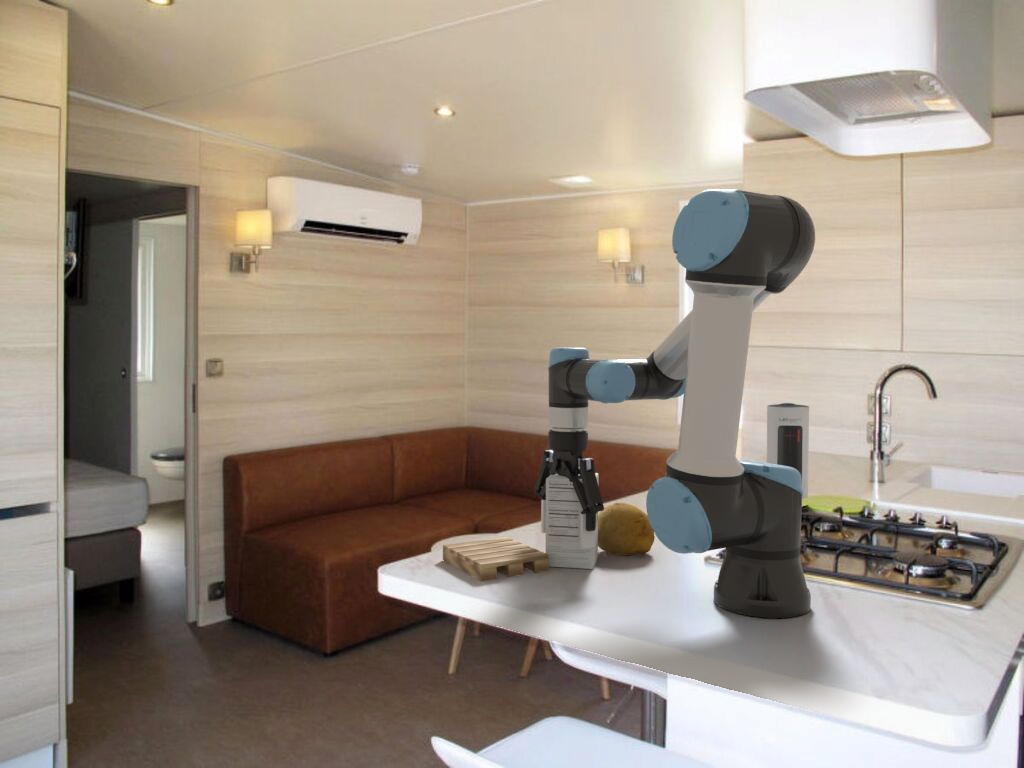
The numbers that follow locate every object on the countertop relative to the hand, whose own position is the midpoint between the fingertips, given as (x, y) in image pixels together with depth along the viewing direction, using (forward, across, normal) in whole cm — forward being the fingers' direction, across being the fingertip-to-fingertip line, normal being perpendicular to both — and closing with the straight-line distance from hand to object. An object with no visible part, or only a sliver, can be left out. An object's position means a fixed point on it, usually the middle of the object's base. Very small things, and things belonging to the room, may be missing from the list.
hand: (566, 539), depth 163 cm
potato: (+5, +1, -14) cm, 15 cm away
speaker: (+5, +20, -81) cm, 84 cm away
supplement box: (+5, 0, -1) cm, 5 cm away
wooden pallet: (+4, +5, +13) cm, 15 cm away
